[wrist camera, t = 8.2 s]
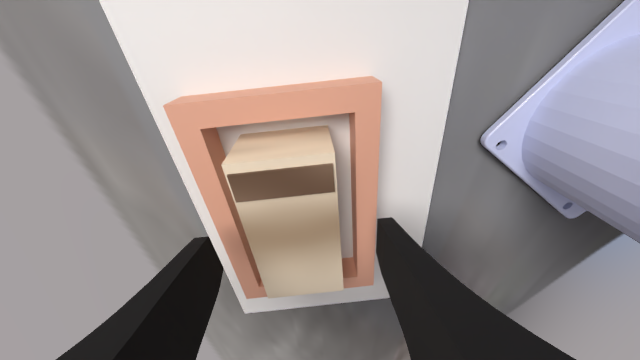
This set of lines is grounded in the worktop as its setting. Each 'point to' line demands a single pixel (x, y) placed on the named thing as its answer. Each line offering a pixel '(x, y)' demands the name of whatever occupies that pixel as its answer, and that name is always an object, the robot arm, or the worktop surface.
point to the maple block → (289, 208)
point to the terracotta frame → (273, 105)
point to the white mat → (304, 67)
